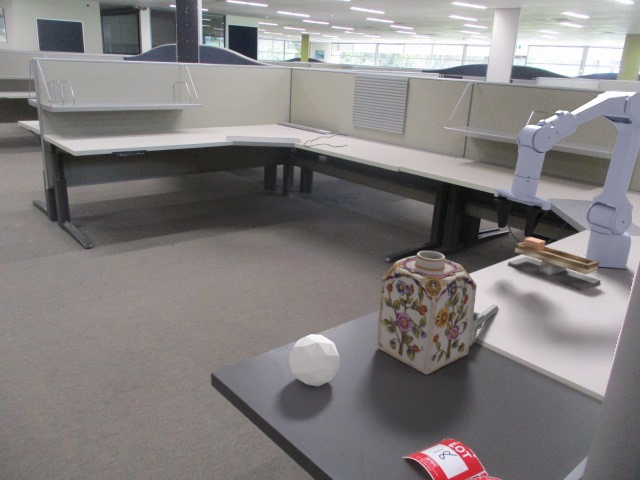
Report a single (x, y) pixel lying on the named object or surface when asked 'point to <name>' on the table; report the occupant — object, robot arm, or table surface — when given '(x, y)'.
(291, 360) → the ball
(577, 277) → the balance beam
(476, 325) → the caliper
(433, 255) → the decorative jar
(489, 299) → the table surface
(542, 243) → the block
